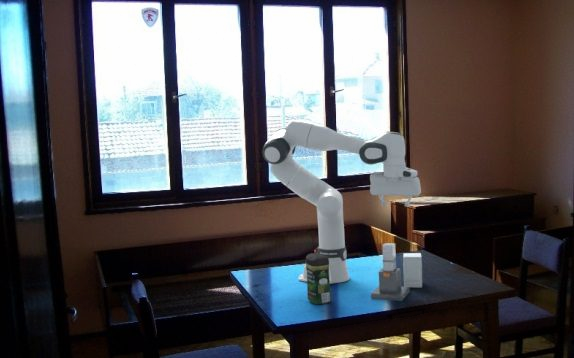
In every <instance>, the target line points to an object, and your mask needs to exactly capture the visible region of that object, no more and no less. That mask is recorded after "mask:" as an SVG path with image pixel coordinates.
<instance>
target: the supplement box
mask: <svg viewBox="0 0 574 358" xmlns="http://www.w3.org/2000/svg"><path fill="white" fill-rule="evenodd" d="M402 257H403V258H402V260H403V262H402V263H403V266H402V267H403V287H409V288H423V262H422V259H423V258H422V253H421V252H415V253H414V252H413V253H412V252H411V253H410V252H409V253H408V252H407V253H404V252H403V256H402Z"/></svg>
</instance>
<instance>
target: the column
mask: <svg viewBox="0 0 574 358" xmlns="http://www.w3.org/2000/svg"><path fill="white" fill-rule="evenodd" d="M381 247H382V250H381V251H382V268H383V271H385V272H395V271H396V268H397V258H396V257H397V255H396V243H394V242H393V243H389V242H387V243H383V244H382V245H381Z"/></svg>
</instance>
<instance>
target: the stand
mask: <svg viewBox="0 0 574 358" xmlns="http://www.w3.org/2000/svg"><path fill="white" fill-rule="evenodd" d="M401 270H402V269H401V268H397V267H396V271H395V272H385V271H383V267H382V269H380V270H379V271H378V286H376V288H375V289H374V290H372V292H370V298H371V299H373V300H374V299H375V300H386V301H387V300H388V301H397V302H402V301H404V299H405V298H406V296H408V295H409V293H410V291H411V290H410V287H404V286H402V271H401Z"/></svg>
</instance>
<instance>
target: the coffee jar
mask: <svg viewBox="0 0 574 358" xmlns="http://www.w3.org/2000/svg"><path fill="white" fill-rule="evenodd" d="M305 264H306V269H307V282H306V287H307V290H306V291H307V292H306V293H307V294H306V295H307V296H306V297H307V300H308V302H310V303H311V304H313V305H326V304H328V303H330V302H332V296H331V295H332V294H331V284H330V282H329V259H328V257H326V256H324V255H321V254H318V253H316V252H315V253H308V254H307V255H306V256H305Z"/></svg>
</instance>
